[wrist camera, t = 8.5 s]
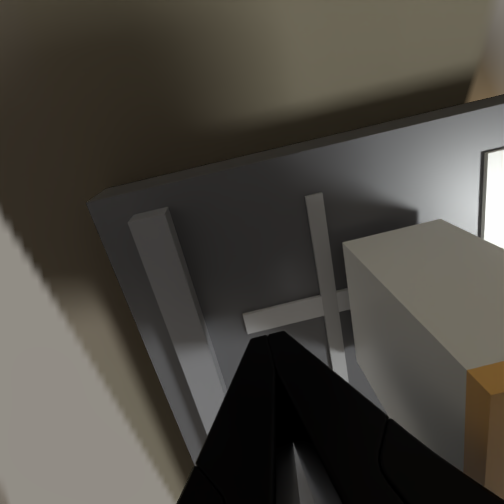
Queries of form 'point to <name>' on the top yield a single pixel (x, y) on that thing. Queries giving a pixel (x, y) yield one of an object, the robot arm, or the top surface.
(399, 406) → the grey rectangular block
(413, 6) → the top surface
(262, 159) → the console
